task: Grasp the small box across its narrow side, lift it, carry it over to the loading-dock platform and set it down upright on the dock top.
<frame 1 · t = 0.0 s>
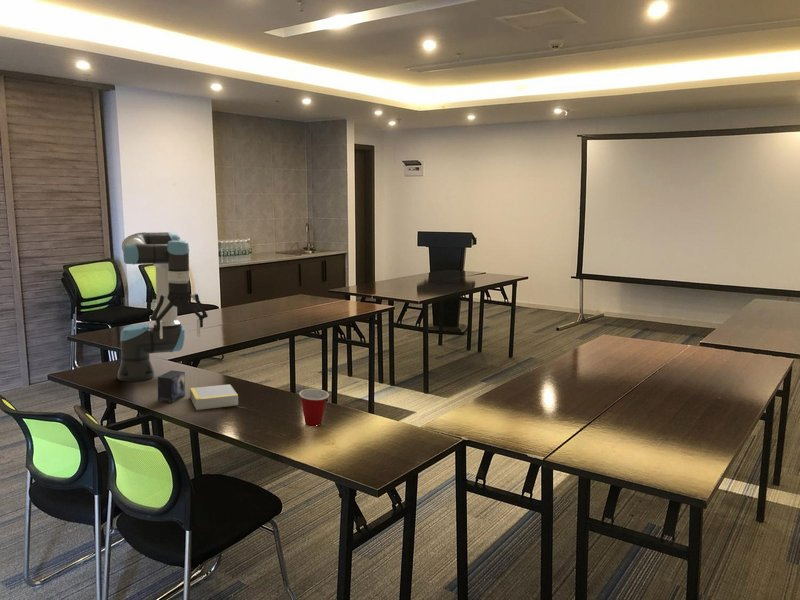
hand: (180, 337, 240), 28 cm above the table, fingers open, 13 cm apart
plastic cup: (313, 424, 231), on the table
dock: (213, 401, 253), on the table
small box: (171, 399, 254), on the table
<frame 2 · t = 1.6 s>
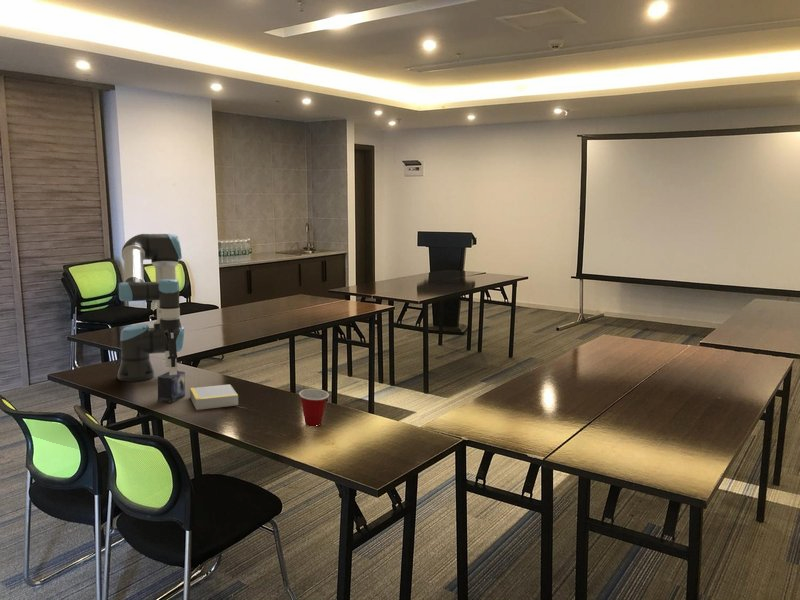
hand: (171, 370, 252), 12 cm above the table, fingers open, 13 cm apart
nothing on the table moved.
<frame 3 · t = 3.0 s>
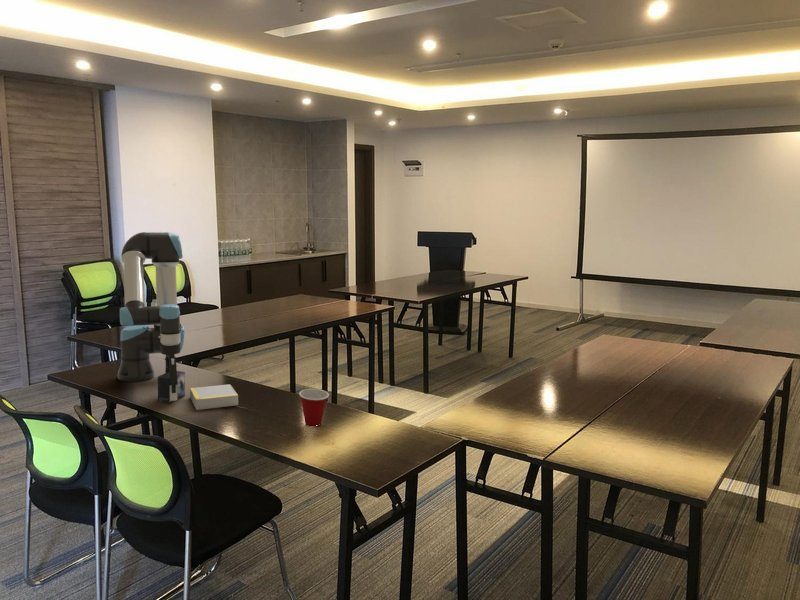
hand: (171, 395, 254), 1 cm above the table, fingers closed on small box, 12 cm apart
small box: (171, 399, 254), on the table, touching gripper
everything else where it was.
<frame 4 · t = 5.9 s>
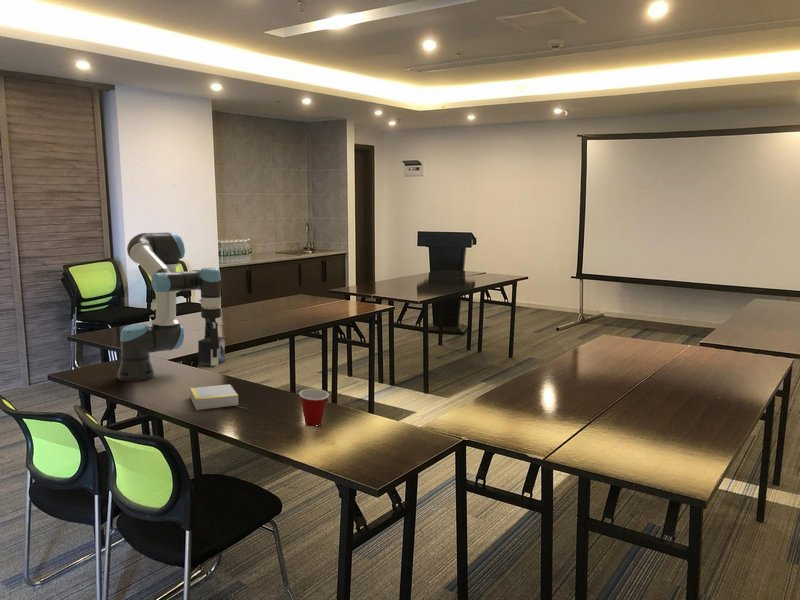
hand: (212, 361, 250), 17 cm above the table, fingers closed on small box, 12 cm apart
small box: (212, 365, 250), point 15 cm above the table, touching gripper
everything else where it was.
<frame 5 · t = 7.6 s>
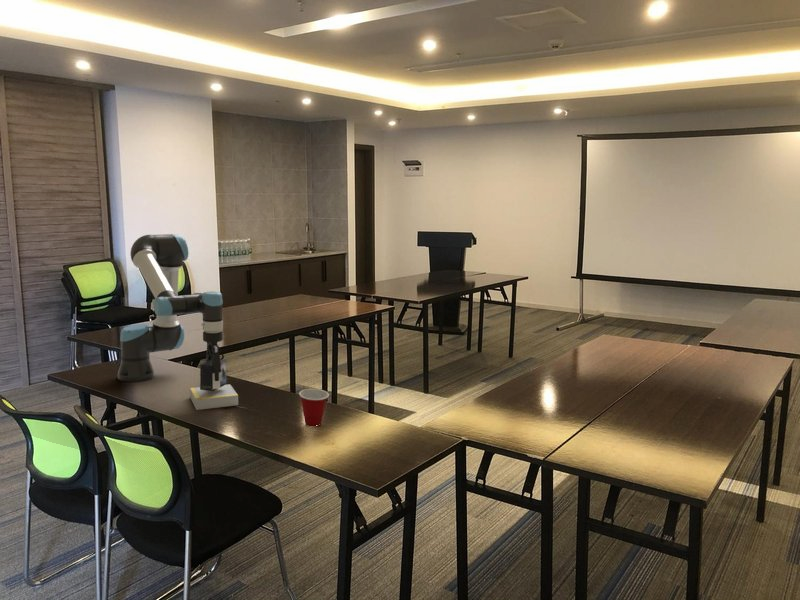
hand: (213, 384, 252), 7 cm above the table, fingers closed on small box, 12 cm apart
small box: (213, 387, 252), point 6 cm above the table, touching gripper
everything else where it was.
when the fingers open (7 cm above the table, at t = 8.7 s): small box drops 1 cm, resting on dock.
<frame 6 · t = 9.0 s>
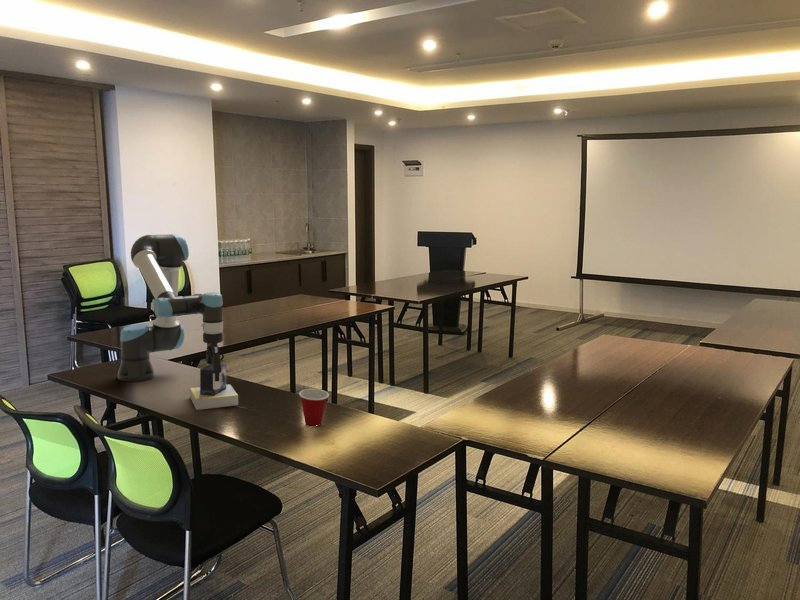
hand: (213, 384, 252), 7 cm above the table, fingers open, 13 cm apart
small box: (213, 392, 252), point 4 cm above the table, touching dock
everything else where it was.
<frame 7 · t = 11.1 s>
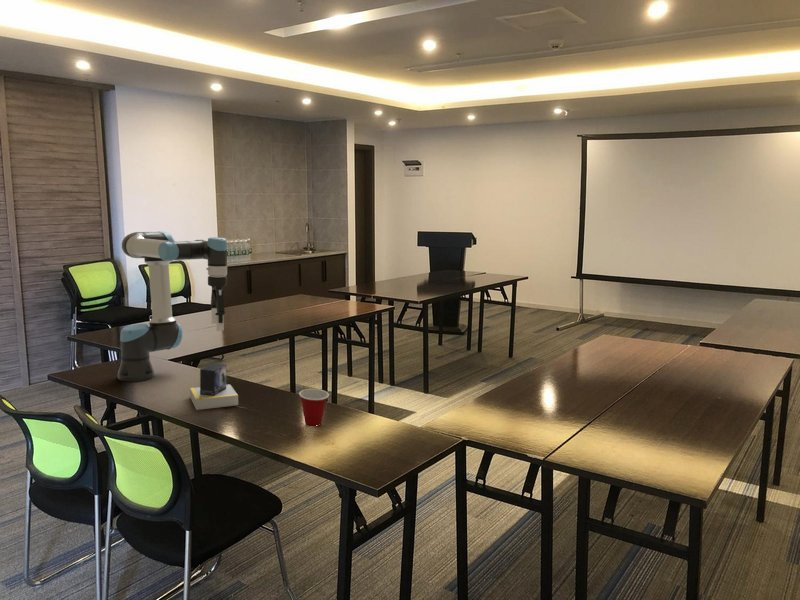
hand: (217, 327, 259), 28 cm above the table, fingers open, 13 cm apart
nothing on the table moved.
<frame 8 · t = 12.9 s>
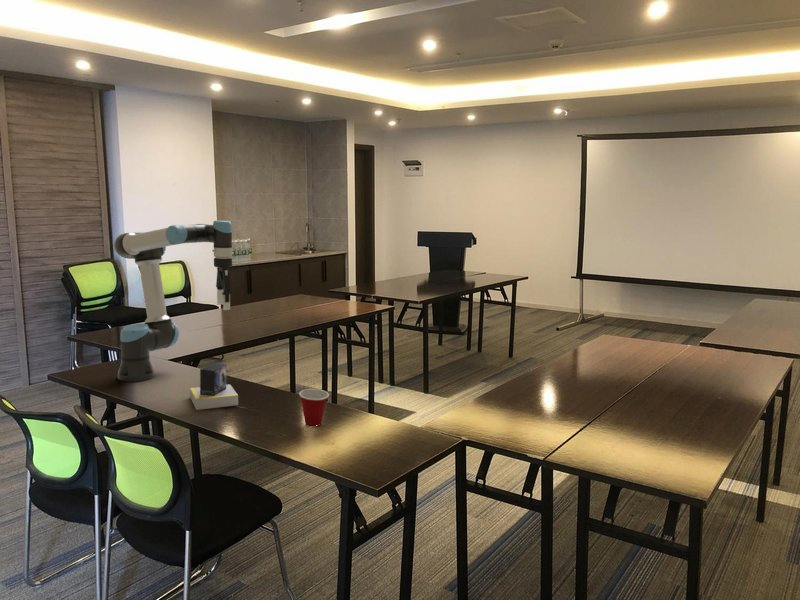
hand: (223, 307, 269), 35 cm above the table, fingers open, 13 cm apart
nothing on the table moved.
at the end: small box inside the target area on the dock (0.0 cm from its centre), point 3.8 cm above the dock's base; small box tilted 0°; the gripper is holding nothing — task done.
